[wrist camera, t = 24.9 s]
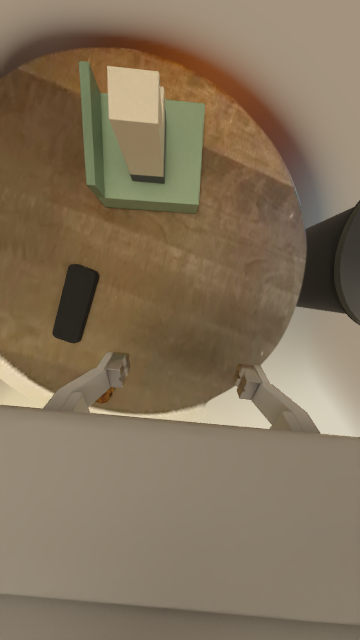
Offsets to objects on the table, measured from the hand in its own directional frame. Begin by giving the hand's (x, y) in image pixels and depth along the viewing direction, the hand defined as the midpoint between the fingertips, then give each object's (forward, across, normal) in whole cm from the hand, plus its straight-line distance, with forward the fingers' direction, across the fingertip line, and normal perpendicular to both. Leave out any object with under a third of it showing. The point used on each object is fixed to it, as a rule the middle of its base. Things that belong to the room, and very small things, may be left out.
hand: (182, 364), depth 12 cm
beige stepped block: (+24, +8, -18) cm, 31 cm away
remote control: (+18, +21, +6) cm, 28 cm away
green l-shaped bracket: (+27, +8, -17) cm, 33 cm away
